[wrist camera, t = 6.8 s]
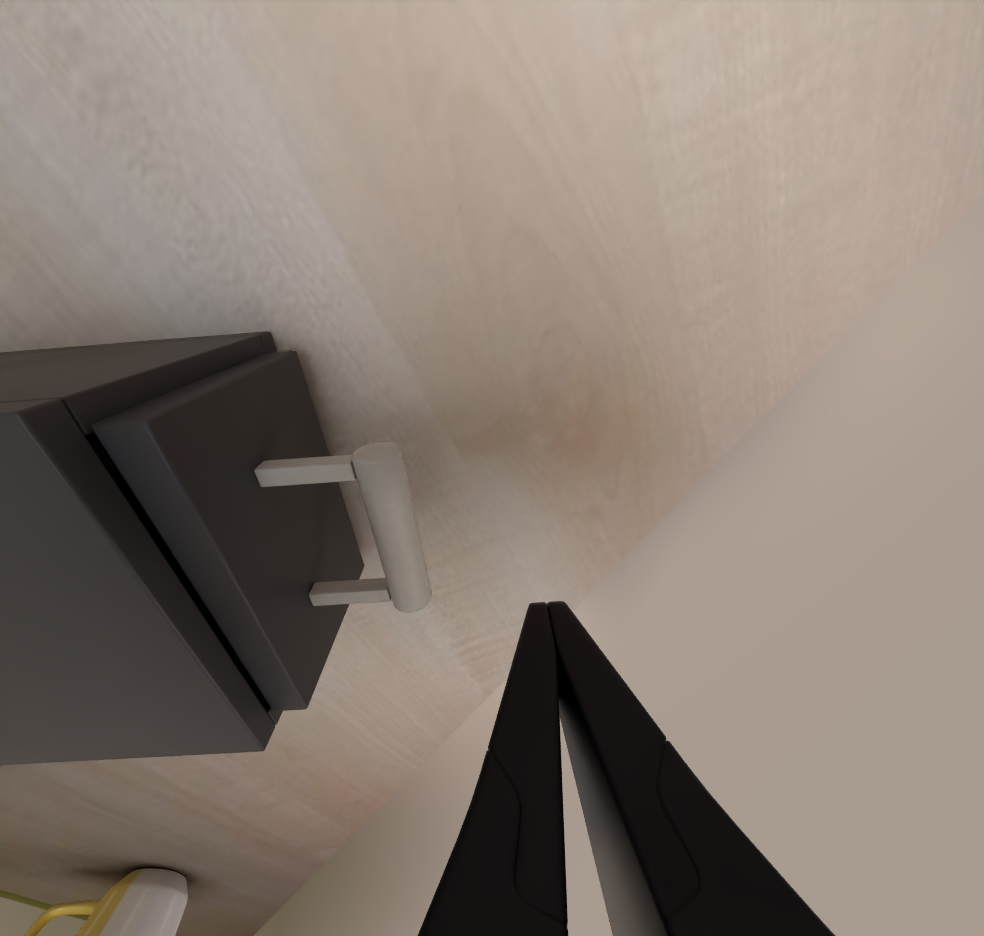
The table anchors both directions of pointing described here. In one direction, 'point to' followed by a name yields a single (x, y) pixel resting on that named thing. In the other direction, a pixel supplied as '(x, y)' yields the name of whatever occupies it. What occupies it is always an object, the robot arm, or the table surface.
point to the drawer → (264, 516)
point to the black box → (104, 573)
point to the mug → (129, 906)
